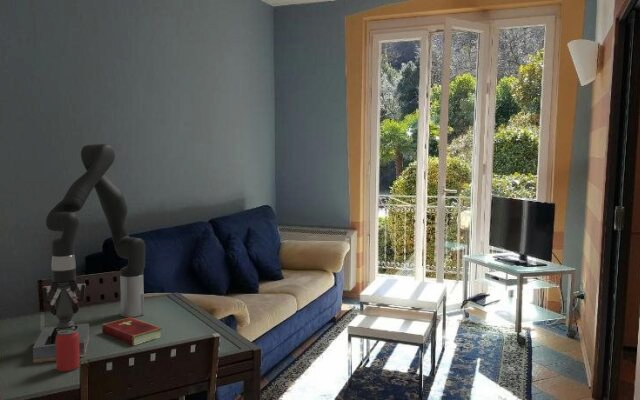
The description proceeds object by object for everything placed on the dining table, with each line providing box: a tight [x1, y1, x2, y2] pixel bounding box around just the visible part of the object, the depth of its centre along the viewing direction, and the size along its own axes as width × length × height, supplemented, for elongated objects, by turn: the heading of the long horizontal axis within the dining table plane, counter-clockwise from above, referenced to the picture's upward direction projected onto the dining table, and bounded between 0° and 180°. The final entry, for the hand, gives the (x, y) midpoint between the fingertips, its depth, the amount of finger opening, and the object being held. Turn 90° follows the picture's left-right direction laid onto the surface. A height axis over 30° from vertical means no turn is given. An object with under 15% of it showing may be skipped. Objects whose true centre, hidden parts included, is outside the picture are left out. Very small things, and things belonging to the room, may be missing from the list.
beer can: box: [55, 328, 80, 372], centre depth 156 cm, size 7×7×12 cm
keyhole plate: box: [32, 322, 90, 363], centre depth 173 cm, size 15×21×5 cm
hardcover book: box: [101, 317, 163, 347], centre depth 187 cm, size 12×21×4 cm, turn 52°
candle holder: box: [55, 282, 75, 336], centre depth 177 cm, size 6×6×25 cm
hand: (65, 313), depth 177 cm, fingers closed on candle holder, 6 cm apart
